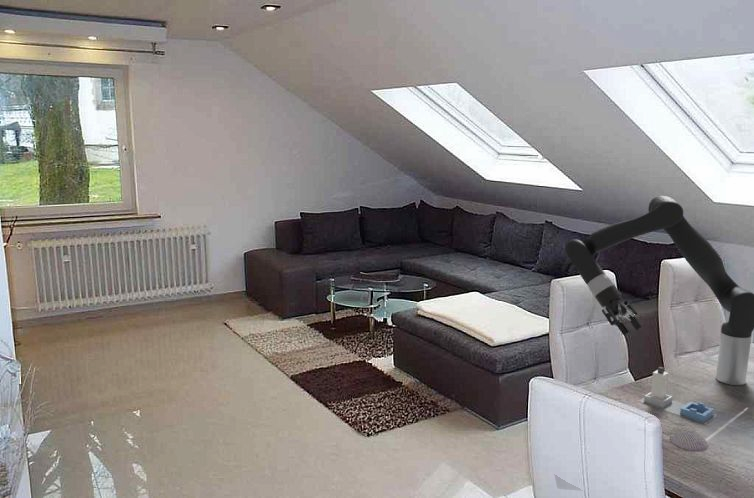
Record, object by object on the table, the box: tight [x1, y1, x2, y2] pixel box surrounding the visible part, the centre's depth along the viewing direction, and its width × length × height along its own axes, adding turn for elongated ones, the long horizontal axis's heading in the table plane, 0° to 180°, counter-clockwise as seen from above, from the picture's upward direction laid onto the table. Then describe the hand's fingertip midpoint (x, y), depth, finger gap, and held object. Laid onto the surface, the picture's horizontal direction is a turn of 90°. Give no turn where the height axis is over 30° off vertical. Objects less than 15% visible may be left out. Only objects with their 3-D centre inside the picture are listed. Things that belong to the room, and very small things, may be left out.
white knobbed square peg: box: [650, 366, 669, 401], centre depth 198 cm, size 3×3×12 cm
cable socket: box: [637, 391, 719, 425], centre depth 194 cm, size 21×9×4 cm, turn 41°
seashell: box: [669, 425, 709, 452], centre depth 175 cm, size 10×6×10 cm
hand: (633, 331), depth 202 cm, fingers open, 8 cm apart
